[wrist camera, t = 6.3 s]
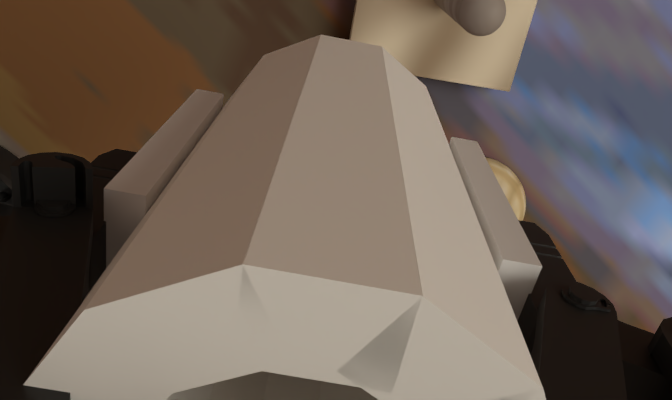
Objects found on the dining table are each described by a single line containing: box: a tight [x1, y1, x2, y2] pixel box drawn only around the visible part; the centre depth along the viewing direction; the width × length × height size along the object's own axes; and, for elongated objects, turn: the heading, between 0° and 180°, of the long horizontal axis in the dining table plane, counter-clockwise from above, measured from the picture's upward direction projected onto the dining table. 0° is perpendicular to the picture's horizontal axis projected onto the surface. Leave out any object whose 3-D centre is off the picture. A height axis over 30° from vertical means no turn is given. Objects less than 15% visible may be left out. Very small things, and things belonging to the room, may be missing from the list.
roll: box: [23, 35, 546, 400], centre depth 12 cm, size 7×7×12 cm
